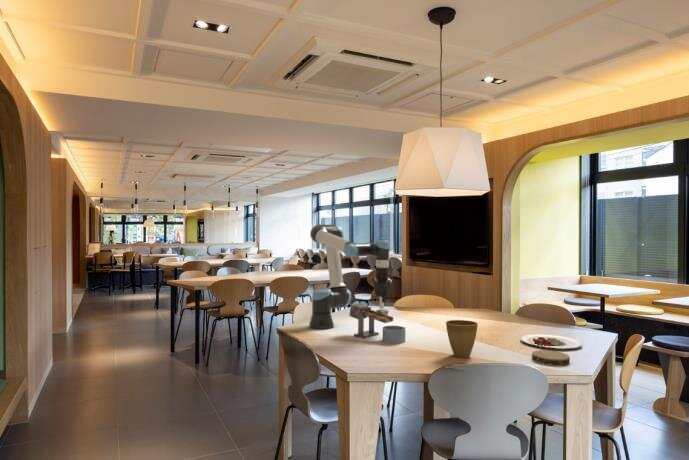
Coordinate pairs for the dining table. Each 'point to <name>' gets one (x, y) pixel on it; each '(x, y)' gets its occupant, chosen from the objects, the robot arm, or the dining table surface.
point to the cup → (394, 334)
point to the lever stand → (361, 331)
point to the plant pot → (461, 336)
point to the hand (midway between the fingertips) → (381, 308)
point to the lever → (370, 313)
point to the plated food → (550, 341)
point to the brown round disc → (550, 357)
